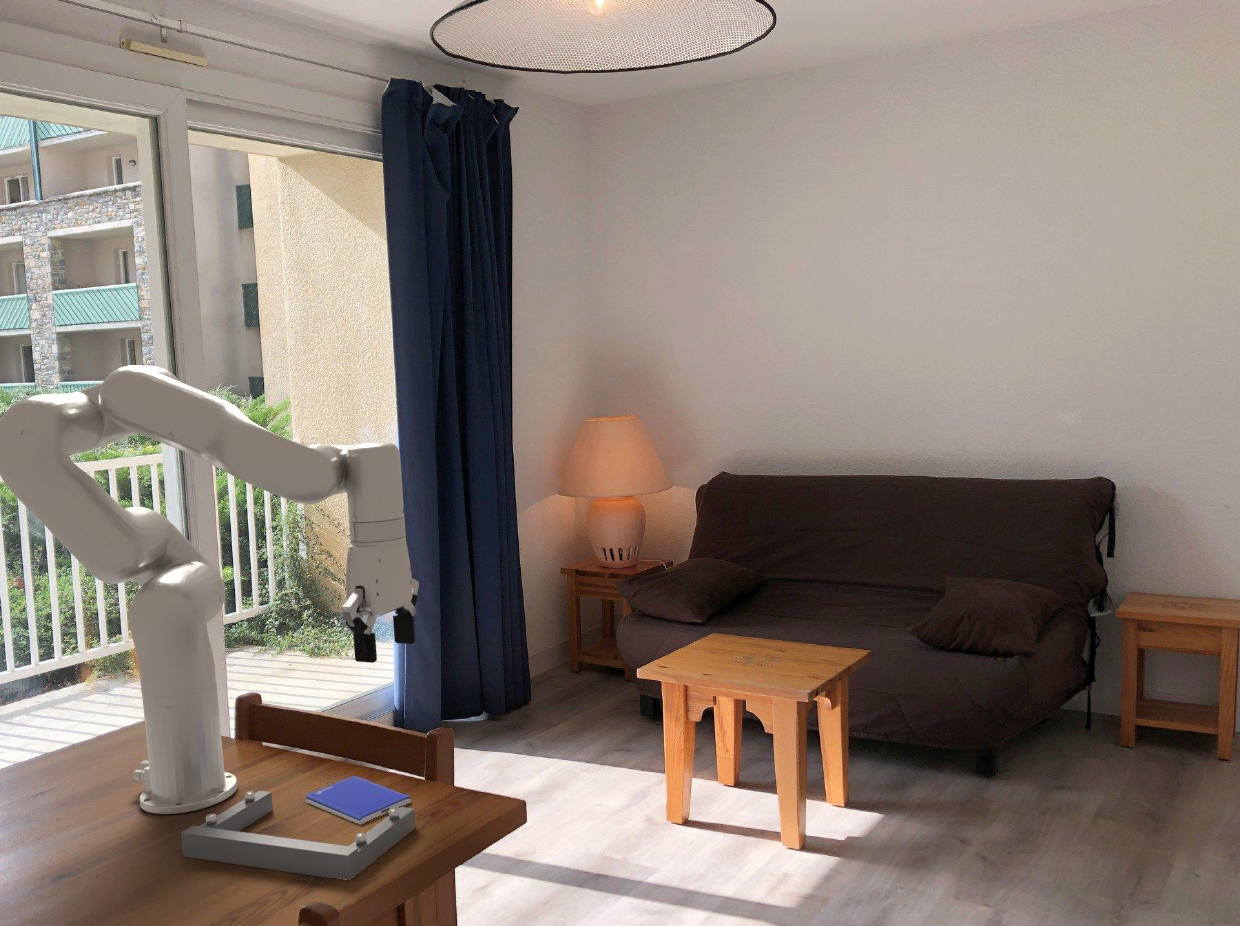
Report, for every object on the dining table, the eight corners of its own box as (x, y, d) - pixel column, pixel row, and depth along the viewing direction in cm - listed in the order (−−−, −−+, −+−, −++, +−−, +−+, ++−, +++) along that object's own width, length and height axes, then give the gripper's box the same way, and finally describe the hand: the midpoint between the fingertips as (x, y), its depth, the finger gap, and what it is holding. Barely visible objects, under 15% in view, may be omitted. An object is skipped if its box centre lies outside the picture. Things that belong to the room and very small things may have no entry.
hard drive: (305, 794, 140) (359, 817, 132) (355, 774, 146) (410, 795, 138) (306, 805, 140) (360, 829, 132) (356, 785, 146) (411, 806, 138)
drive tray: (183, 856, 125) (180, 828, 125) (260, 808, 138) (258, 783, 138) (349, 880, 117) (347, 851, 117) (415, 827, 130) (413, 800, 130)
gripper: (389, 521, 153) (397, 635, 155) (316, 541, 137) (325, 668, 139) (433, 522, 150) (441, 637, 152) (363, 542, 134) (373, 671, 136)
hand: (386, 651), depth 145 cm, fingers open, 9 cm apart
